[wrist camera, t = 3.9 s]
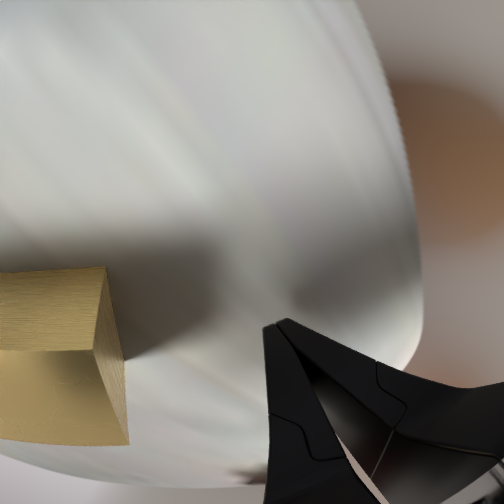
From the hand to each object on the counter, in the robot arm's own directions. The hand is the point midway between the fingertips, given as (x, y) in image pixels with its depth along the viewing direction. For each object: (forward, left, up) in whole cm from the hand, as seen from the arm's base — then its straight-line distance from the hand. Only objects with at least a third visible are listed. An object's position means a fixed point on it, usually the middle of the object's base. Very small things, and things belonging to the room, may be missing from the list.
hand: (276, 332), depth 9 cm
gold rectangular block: (+11, 0, 0) cm, 11 cm away
